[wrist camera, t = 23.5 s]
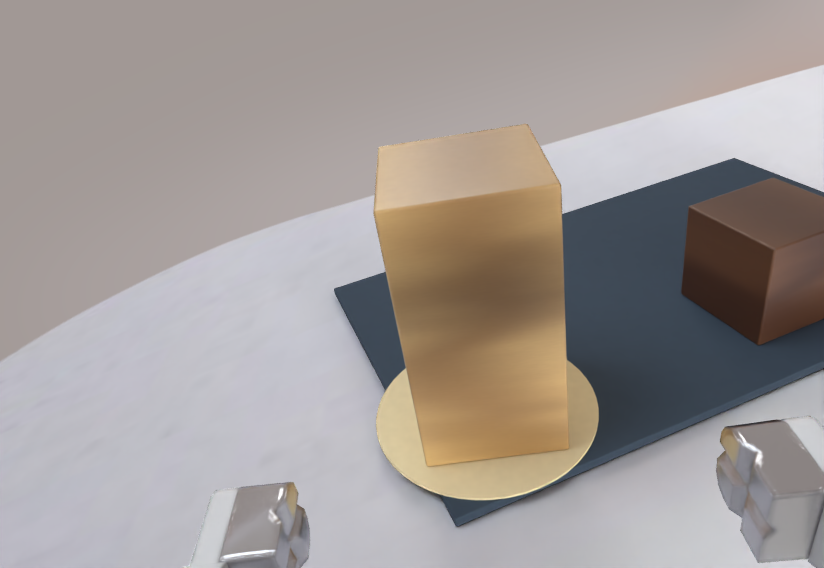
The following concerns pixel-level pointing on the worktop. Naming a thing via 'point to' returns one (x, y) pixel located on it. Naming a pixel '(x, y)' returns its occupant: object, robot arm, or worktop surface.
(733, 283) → the walnut block
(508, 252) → the brass rectangular block
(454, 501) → the pattern mat
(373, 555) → the worktop surface
